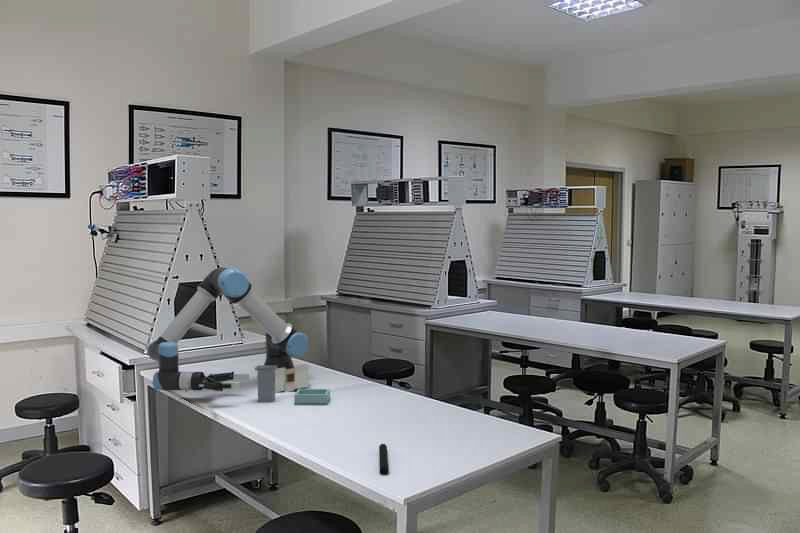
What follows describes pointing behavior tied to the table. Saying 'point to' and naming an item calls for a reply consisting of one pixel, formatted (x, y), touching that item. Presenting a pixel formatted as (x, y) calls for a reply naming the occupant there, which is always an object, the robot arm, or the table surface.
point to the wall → (291, 378)
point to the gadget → (383, 459)
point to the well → (312, 397)
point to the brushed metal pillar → (266, 382)
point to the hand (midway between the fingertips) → (244, 381)
